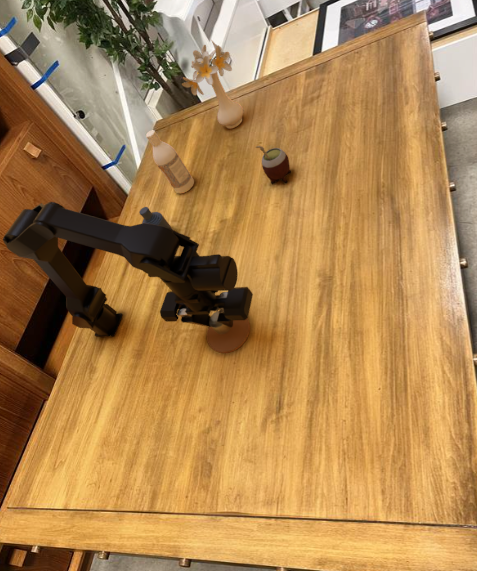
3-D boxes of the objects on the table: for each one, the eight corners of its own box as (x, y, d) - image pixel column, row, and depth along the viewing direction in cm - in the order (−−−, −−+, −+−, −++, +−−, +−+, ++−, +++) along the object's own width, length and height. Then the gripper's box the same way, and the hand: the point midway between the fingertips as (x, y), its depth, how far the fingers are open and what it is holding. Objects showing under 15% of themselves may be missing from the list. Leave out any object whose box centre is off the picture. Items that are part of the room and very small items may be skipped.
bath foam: (173, 186, 126) (137, 134, 111) (192, 175, 126) (158, 121, 111) (177, 197, 122) (141, 145, 107) (197, 186, 121) (162, 131, 106)
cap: (231, 333, 80) (225, 326, 78) (214, 336, 82) (207, 329, 80) (232, 316, 83) (226, 309, 81) (215, 319, 84) (209, 312, 82)
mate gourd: (286, 165, 109) (268, 118, 98) (299, 178, 104) (282, 130, 93) (263, 179, 109) (243, 134, 98) (275, 193, 104) (255, 147, 93)
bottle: (171, 244, 109) (149, 217, 101) (152, 246, 112) (130, 220, 104) (177, 227, 113) (156, 200, 105) (159, 230, 116) (138, 203, 107)
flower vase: (207, 143, 133) (169, 73, 115) (230, 108, 141) (198, 38, 122) (238, 141, 126) (203, 66, 108) (261, 105, 133) (232, 29, 115)
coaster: (245, 353, 79) (244, 352, 79) (203, 352, 84) (201, 351, 83) (253, 311, 85) (252, 309, 84) (213, 312, 89) (212, 311, 89)
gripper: (242, 244, 71) (270, 291, 82) (158, 253, 79) (195, 295, 90) (229, 295, 65) (261, 338, 76) (140, 300, 73) (181, 338, 84)
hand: (222, 325), depth 82 cm, fingers open, 4 cm apart
